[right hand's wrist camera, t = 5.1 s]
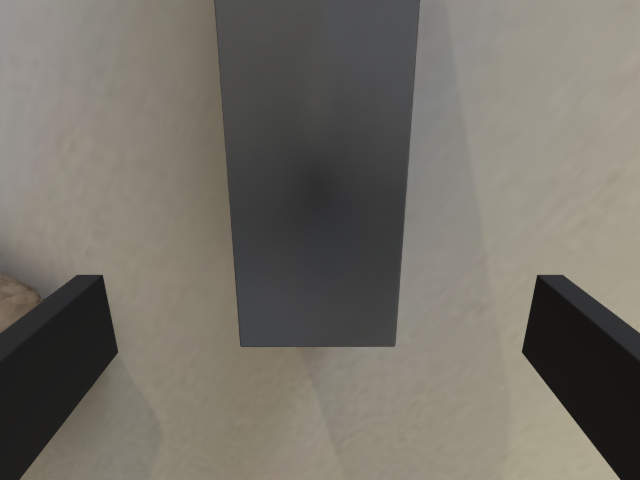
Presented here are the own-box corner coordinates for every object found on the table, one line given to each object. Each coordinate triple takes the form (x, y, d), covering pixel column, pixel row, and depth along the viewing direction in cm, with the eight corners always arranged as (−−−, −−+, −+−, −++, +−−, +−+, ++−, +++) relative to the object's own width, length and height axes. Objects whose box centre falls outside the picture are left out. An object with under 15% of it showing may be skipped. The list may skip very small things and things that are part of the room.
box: (368, 260, 26) (395, 347, 17) (267, 260, 26) (239, 347, 17) (393, -322, 17) (476, -786, 8) (240, -323, 17) (154, -788, 8)
